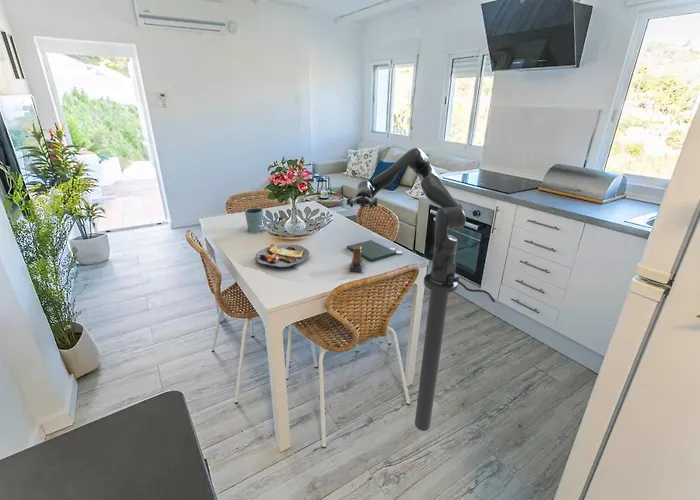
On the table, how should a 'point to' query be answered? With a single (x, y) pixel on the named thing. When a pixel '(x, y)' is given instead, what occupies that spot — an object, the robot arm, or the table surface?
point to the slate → (372, 250)
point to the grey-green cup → (254, 219)
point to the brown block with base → (356, 260)
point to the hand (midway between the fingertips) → (361, 205)
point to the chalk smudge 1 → (398, 252)
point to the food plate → (282, 255)
